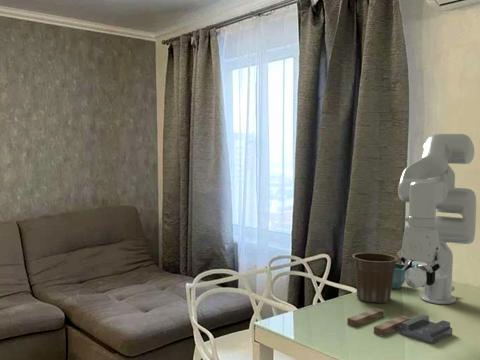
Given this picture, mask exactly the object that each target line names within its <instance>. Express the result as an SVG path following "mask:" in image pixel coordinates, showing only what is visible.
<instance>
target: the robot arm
mask: <svg viewBox="0 0 480 360" xmlns="http://www.w3.org/2000/svg"><path fill="white" fill-rule="evenodd" d="M474 157H475V146H474V143H473V141H472V138H471V137H470V136H469V135H468V134H464V133H436V134H432V135H431V136H429V137H427V139H426V141H425V143H424V144H423V145H422V155H421V158H419V159H418V160H416V161H414V162H413V163H411V164H409V165H408V166H407V167H405V169H403V172H402V174H401V175H400V180H399V182H398V186H397V195H398V198H399V199H400V200H401V201H402V202H404V203H408V216H405V218H404V221H405V222H407V224H408V225H405V228H404V232H403V235H402V236H403V237H402V243H401V248H400V249H399V250H398V251H397V252H396V255H397V256H398V257H399V259H400V262H402V263H403V264H404V267H406V270H407V269H409V268H412V267H413V265H414V262H419V263H422V264H426V263H427V267H428V270H429V272H427V283H426V284H427V285H425V286H424V287H423V288H424V292H421V293H420V294H419V299H421V300H422V301H425V302H428V303H431V304H437V305H451V304H454V303H456V300H457V299H456V297H455V296H454V295H452V292H454V291H455V290H456V287H455V286H454V285H453V267H454V265H453V264H454V254H453V251H452V249H451V248H450V246H449V245H448V244H447V243H449V244H451V243H452V244H462V245H470V244H473V242H474V241H475V236H476V224H477V223H476V222H477V220H476V219H477V197H476V196H477V195H476V193H475V190H472V189H471V188H465V187H464V188H463V187H456V186H455V185H456V173H455V171H454V170H453V169H452V167H451V166H450V165H451V164H456V165H457V164H458V165H468V164H470V163H472V161H474ZM449 164H450V165H449ZM437 213H444V214H456V215H457V214H458V215H461V216H462V217H458V216H457V217H454V216H445V215H444V216H441V215H436V214H437ZM438 260H439V262H438V263H437V264H435V261H438ZM445 263H447V265H448V266H449V269H450V273H449V276H448V277H447V278H445V279H442V280H439V281H437V282H435V271H437V270H438V269H439V268H440V267H441V266H443V265H444V264H445Z"/></svg>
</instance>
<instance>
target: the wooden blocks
mask: <svg viewBox="0 0 480 360" xmlns="http://www.w3.org/2000/svg"><path fill="white" fill-rule="evenodd" d="M384 314H385V310H383V309H380V308H378V307H375V308H372V309H369V310H367V311H364V312H361V313H358V314H355V315H352V316H350V317H347V320H346V321H347V322H346V323H347V325H348V326H351V327H354V328H355V327H359V326H361V325H364V324H366V323H370V322H372V321H374V320H377V319H379V318H382V317H384V316H385V315H384ZM409 319H412V318H411V317H408V316H405V315H400V316H398V317H395V318H393V319H390V320H387V321H386V322H383V323H380V324H378V325H375V326H373V334H375V335H378V336H382V337H383V336H385V335H388V334H390V333H393V332H396V331H397V330H398V331H399V327H400V326H401V323H402V322H405V321H407V320H409Z"/></svg>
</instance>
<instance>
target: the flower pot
mask: <svg viewBox="0 0 480 360" xmlns="http://www.w3.org/2000/svg"><path fill="white" fill-rule="evenodd" d="M405 272H406V267H404V264H401V263H396V264H395V270H394V273H393V280H392V288H391V289H397V290H398V289H400V288H401V287H402V286H403V285H404V282H405V277H404V275H405Z"/></svg>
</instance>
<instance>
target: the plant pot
mask: <svg viewBox="0 0 480 360" xmlns="http://www.w3.org/2000/svg"><path fill="white" fill-rule="evenodd" d="M352 258H353V262H354V263H353V264H354V268H355V284H356V285H355V286H356V297H357V299H358V300H360V301H362V302H366V303H374V302H375V303H376V304H384V303H385V304H386V303H389V302H390V301H391V296H392V294H391V293H392V289H393V288H392V280H393V273H394V270H395V264H397V262H398V257H396V256H394V255H391V254H387V253H386V254H385V253H379V252H359V253H354V254H352Z"/></svg>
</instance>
